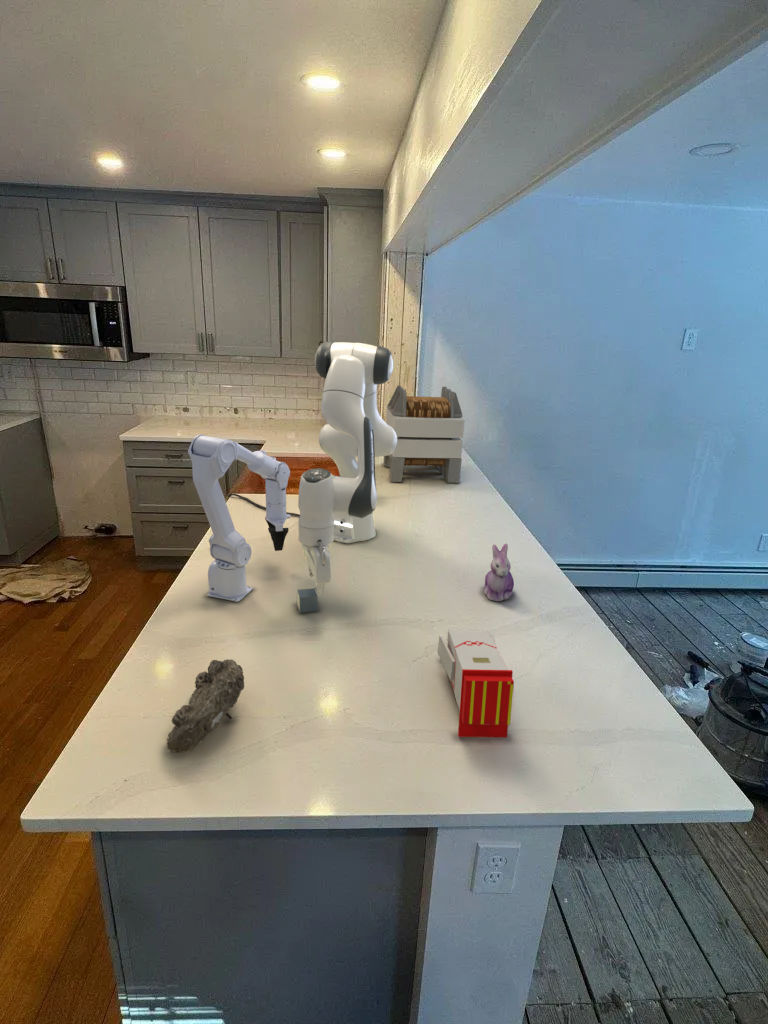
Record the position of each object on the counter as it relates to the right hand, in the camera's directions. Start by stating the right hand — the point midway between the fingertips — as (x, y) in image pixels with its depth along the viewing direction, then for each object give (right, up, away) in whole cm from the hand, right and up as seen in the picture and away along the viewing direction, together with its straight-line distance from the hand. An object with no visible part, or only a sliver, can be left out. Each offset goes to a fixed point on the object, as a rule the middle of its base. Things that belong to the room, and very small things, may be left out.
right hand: (316, 583), depth 147 cm
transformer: (+35, +37, +128) cm, 138 cm away
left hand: (-14, +9, +20) cm, 26 cm away
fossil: (-15, -21, -39) cm, 47 cm away
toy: (+36, -19, -28) cm, 49 cm away
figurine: (+50, -5, +13) cm, 52 cm away
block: (-2, -7, +1) cm, 7 cm away
